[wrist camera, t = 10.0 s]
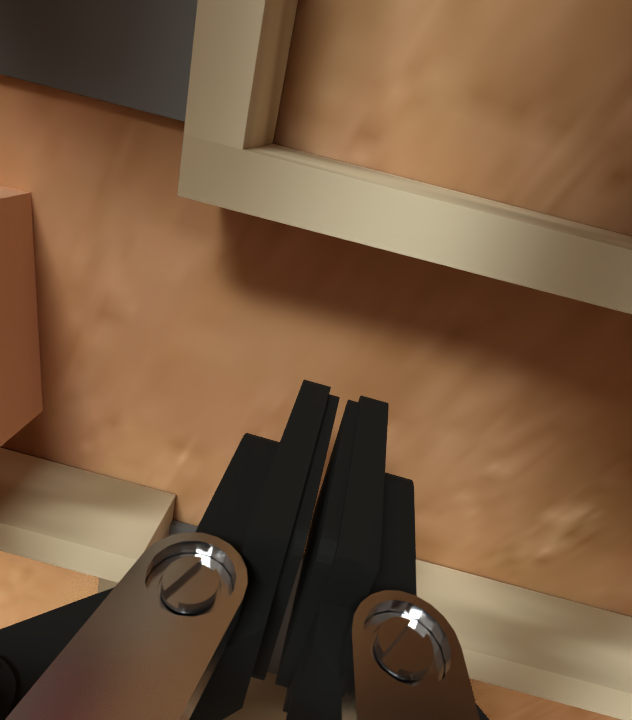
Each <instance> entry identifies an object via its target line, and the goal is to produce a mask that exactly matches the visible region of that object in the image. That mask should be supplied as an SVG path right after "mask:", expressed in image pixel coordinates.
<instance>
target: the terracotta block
mask: <svg viewBox="0 0 632 720" xmlns="http://www.w3.org/2000/svg"><path fill="white" fill-rule="evenodd" d="M42 411H43V404H42V386H41V368H40V349H39V331H38V313H37V295H36V277H35V258H34V240H33V222H32V204H31V192H26V191H22V190H17V189H13V188H8V187H4V186H0V447H1V446H2V445H3V444H4V443H5V442H7V441H8V440H9V439H10V438H11V437H12V436H14V435H15V434H16V433H17V432H18V431H20V430H21V429H22V428H23V427H24V426H25V425H27V424H28V423H29V422H30V421H31V420H33V419H34V418H35V417H36V416H37V415H39V414H40V413H41V412H42Z"/></svg>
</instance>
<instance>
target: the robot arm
mask: <svg viewBox="0 0 632 720" xmlns="http://www.w3.org/2000/svg"><path fill="white" fill-rule="evenodd" d="M330 388H331V387H329V386H325V385H322V384H318V383H314V382H311V381H307V380H304V381H303V383H302V386H301V388H300V391H299V394H298V396H297V399H296V402H295V404H294V407H293V409H292V412H291V415H290V417H289V420H288V423H287V425H286V428H285V430H284V433H283V436H282V438H281V441H280V442H277V441H273V440H270V439H266V438H263V437H259V436H256V435H252V434H249V433H246V434H245V435H244V436H243V438H242V440H241V442H240V444H239V446H238V448H237V450H236V452H235V454H234V456H233V458H232V460H231V462H230V464H229V466H228V468H227V470H226V472H225V474H224V476H223V478H222V480H221V482H220V484H219V486H218V488H217V490H216V492H215V494H214V496H213V498H212V500H211V502H210V504H209V506H208V508H207V510H206V512H205V514H204V516H203V518H202V520H201V522H200V524H199V526H198V528H197V530H196V532H184V533H179V534H175V535H170V536H168V537H166V538H164V539H162V540H159V541H157V542H155V543H154V544H153V545H152V546H151V547H150V548H148V549H147V550H146V551H145V552H144V553H143V554H142V555H141V556H140V557H139V559H138V560H137V561H136V562H135V563H134V565H133V566H132V567H131V568H130V569H129V571H128V572H127V573H126V574H125V575H124V577H123V578H122V579H121V580H120V582H119V583H118V584H117V585H116V586H115V587H113V588H111V589H108V590H105V591H103V592H100V593H97V594H95V595H92V596H89V597H86V598H84V599H81V600H78V601H76V602H73V603H70V604H68V605H65V606H62V607H59V608H57V609H54V610H51V611H49V612H46V613H43V614H41V615H38V616H35V617H32V618H30V619H27V620H24V621H22V622H19V623H16V624H13V625H11V626H8V627H5V628H3V629H0V720H223V719H225V718H227V717H228V716H230V715H232V714H233V713H235V712H237V711H238V710H240V709H242V708H243V704H244V701H245V697H246V693H247V690H248V686H249V683H250V679H251V677H253V678H256V679H260V680H263V681H264V680H265V677H266V674H267V670H268V667H269V664H270V661H271V657H272V654H273V651H274V647H275V644H276V641H277V638H278V634H279V631H280V628H281V625H282V621H283V618H284V615H285V611H286V608H287V605H288V602H289V598H290V595H291V592H292V589H293V585H294V582H295V579H296V575H297V572H298V569H299V566H300V562H301V559H302V555H303V552H304V548H305V544H306V541H307V544H306V549H305V553H304V558H303V562H302V566H301V571H300V575H299V580H298V584H297V588H296V593H295V597H294V601H293V606H292V610H291V615H290V619H289V623H288V628H287V632H286V637H285V641H284V645H283V650H282V654H281V659H280V663H279V667H278V672H277V676H276V681H275V684H276V685H279V686H283V687H286V688H287V692H286V696H285V701H284V706H283V712H287V716H286V720H489V719H488V718H487V716H486V715H485V714H484V713H483V712H482V710H481V709H480V708H479V707H478V706H477V704H476V703H475V699H474V695H473V691H472V687H471V683H470V679H469V675H468V671H467V667H466V663H465V659H464V655H463V651H462V648H461V645H460V643H459V640H458V638H457V635H456V633H455V631H454V630H453V628H452V627H451V625H450V624H449V622H448V621H447V620H446V618H445V617H444V616H443V615H442V614H441V613H440V612H439V611H438V610H437V609H435V608H434V607H433V606H432V605H431V604H429V603H428V602H426V601H424V600H423V599H421V598H419V597H417V590H416V550H415V510H414V485H413V481H412V480H410V479H406V478H403V477H399V476H396V475H392V474H389V473H385V460H386V442H387V424H388V403H386V402H382V401H379V400H375V399H371V398H368V397H364V396H360V398H359V401H358V402H355V401H351V400H348V401H347V404H346V408H345V411H344V414H343V418H342V421H341V424H340V427H339V431H338V434H337V437H336V441H335V444H334V447H333V451H332V454H331V457H330V460H329V464H328V467H327V470H326V474H325V477H324V480H323V484H322V487H321V490H320V493H319V497H318V500H317V503H316V507H315V502H316V498H317V494H318V489H319V485H320V481H321V476H322V472H323V468H324V463H325V459H326V455H327V450H328V446H329V441H330V437H331V433H332V428H333V424H334V420H335V415H336V411H337V407H338V402H339V398H340V397H337V396H333V395H330V394H329V392H330ZM314 507H315V511H314ZM313 511H314V514H313ZM312 516H313V518H312ZM311 520H312V523H311ZM310 524H311V527H310ZM309 529H310V531H309ZM308 533H309V536H308ZM307 537H308V540H307Z"/></svg>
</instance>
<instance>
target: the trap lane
mask: <svg viewBox="0 0 632 720" xmlns="http://www.w3.org/2000/svg"><path fill="white" fill-rule="evenodd" d="M297 4H298V0H0V74H2V75H6V76H10V77H14V78H18V79H22V80H25V81H29V82H33V83H37V84H41V85H45V86H49V87H53V88H56V89H60V90H64V91H68V92H72V93H76V94H80V95H83V96H87V97H91V98H95V99H99V100H103V101H107V102H111V103H114V104H118V105H122V106H126V107H130V108H134V109H138V110H141V111H145V112H149V113H153V114H157V115H161V116H165V117H168V118H172V119H176V120H180V121H184V122H185V126H184V136H183V145H182V155H181V165H180V174H179V184H178V193H177V196H180V197H184V198H188V199H191V200H195V201H199V202H203V203H207V204H211V205H214V206H218V207H222V208H226V209H230V210H234V211H237V212H241V213H245V214H249V215H253V216H257V217H260V218H264V219H268V220H272V221H276V222H280V223H283V224H287V225H291V226H295V227H299V228H303V229H306V230H310V231H314V232H318V233H322V234H326V235H329V236H333V237H337V238H341V239H345V240H349V241H352V242H356V243H360V244H364V245H368V246H372V247H375V248H379V249H383V250H387V251H391V252H395V253H398V254H402V255H406V256H410V257H414V258H418V259H421V260H425V261H429V262H433V263H437V264H441V265H444V266H448V267H452V268H456V269H460V270H464V271H467V272H471V273H475V274H479V275H483V276H487V277H491V278H494V279H498V280H502V281H506V282H510V283H514V284H517V285H521V286H525V287H529V288H533V289H537V290H540V291H544V292H548V293H552V294H556V295H560V296H563V297H567V298H571V299H575V300H579V301H583V302H586V303H590V304H594V305H598V306H602V307H606V308H609V309H613V310H617V311H621V312H625V313H629V314H632V236H628V235H624V234H620V233H617V232H613V231H609V230H605V229H601V228H597V227H593V226H589V225H586V224H582V223H578V222H574V221H570V220H566V219H562V218H559V217H555V216H551V215H547V214H543V213H539V212H535V211H531V210H528V209H524V208H520V207H516V206H512V205H508V204H504V203H501V202H497V201H493V200H489V199H485V198H481V197H477V196H473V195H470V194H466V193H462V192H458V191H454V190H450V189H446V188H443V187H439V186H435V185H431V184H427V183H423V182H419V181H415V180H412V179H408V178H404V177H400V176H396V175H392V174H388V173H385V172H381V171H377V170H373V169H369V168H365V167H361V166H357V165H354V164H350V163H346V162H342V161H338V160H334V159H330V158H327V157H323V156H319V155H315V154H311V153H307V152H303V151H299V150H296V149H292V148H288V147H284V146H280V145H276V144H273V139H274V133H275V128H276V122H277V117H278V111H279V105H280V100H281V94H282V88H283V83H284V77H285V71H286V66H287V60H288V55H289V49H290V43H291V38H292V32H293V26H294V21H295V15H296V9H297ZM175 498H176V495H175V494H171V493H168V492H164V491H160V490H156V489H153V488H149V487H145V486H141V485H138V484H134V483H130V482H127V481H123V480H119V479H115V478H112V477H108V476H104V475H101V474H97V473H93V472H89V471H86V470H82V469H78V468H75V467H71V466H67V465H63V464H60V463H56V462H52V461H48V460H45V459H41V458H37V457H34V456H30V455H26V454H22V453H19V452H15V451H11V450H8V449H4V448H0V551H3V552H7V553H11V554H14V555H18V556H22V557H25V558H29V559H33V560H36V561H40V562H44V563H47V564H51V565H55V566H59V567H62V568H66V569H70V570H73V571H77V572H81V573H84V574H88V575H92V576H95V577H99V586H98V593H100V592H103V591H105V590H108V589H111V588H113V587H115V586H116V585H117V584H118V583H119V582H120V580H121V579H122V578H123V577H124V575H125V574H126V573H127V572H128V571H129V569H130V568H131V567H132V566H133V565H134V563H135V562H136V561H137V560H138V559H139V557H140V556H141V555H142V554H143V553H144V552H145V551H146V550H147V549H148V548H150V547H151V546H152V545H153V544H154V543H155V542H157V541H159V540H162V539H164V538H166V537H168V536H170V535H175V534H179V533H184V532H196V530H197V528H198V527H197V526H194V525H190V524H186V523H182V522H179V521H175V520H173V513H174V506H175ZM303 558H304V555H302V559H301V562H300V566H299V569H298V572H297V575H296V579H295V582H294V585H293V589H292V592H291V595H290V598H289V602H288V605H287V608H286V611H285V615H284V618H283V621H282V625H281V628H280V631H279V634H278V638H277V641H276V644H275V647H274V651H273V654H272V657H271V661H270V664H269V667H268V670H267V674H266V677H265V680H264V681H263V680H260V679H256V678H253V677H251V679H250V683H249V686H248V690H247V693H246V697H245V701H244V704H243V708H242V709H240V710H238V711H237V712H235V713H233V714H232V715H230V716H228V717H227V718H225V719H223V720H286V716H287V712H283V706H284V701H285V696H286V692H287V688H286V687H283V686H279V685H276V684H275V681H276V676H277V672H278V667H279V663H280V659H281V654H282V650H283V645H284V641H285V637H286V632H287V628H288V623H289V619H290V615H291V610H292V606H293V601H294V597H295V593H296V588H297V584H298V580H299V575H300V571H301V566H302V562H303ZM416 590H417V597H419V598H421V599H423V600H424V601H426V602H428V603H429V604H431V605H432V606H433V607H434V608H435V609H437V610H438V611H439V612H440V613H441V614H442V615H443V616H444V617H445V618H446V620H447V621H448V622H449V624H450V625H451V627H452V628H453V630H454V631H455V633H456V635H457V638H458V640H459V643H460V645H461V648H462V651H463V655H464V659H465V663H466V667H467V671H468V675H469V678H471V679H475V680H478V681H482V682H486V683H489V684H493V685H497V686H500V687H504V688H508V689H511V690H515V691H519V692H522V693H526V694H530V695H533V696H537V697H541V698H544V699H548V700H552V701H556V702H559V703H563V704H567V705H570V706H574V707H578V708H581V709H585V710H589V711H592V712H596V713H600V714H603V715H607V716H611V717H614V718H618V719H622V720H632V617H629V616H625V615H621V614H618V613H614V612H610V611H606V610H603V609H599V608H595V607H592V606H588V605H584V604H580V603H577V602H573V601H569V600H566V599H562V598H558V597H554V596H551V595H547V594H543V593H539V592H536V591H532V590H528V589H525V588H521V587H517V586H513V585H510V584H506V583H502V582H499V581H495V580H491V579H487V578H484V577H480V576H476V575H473V574H469V573H465V572H461V571H458V570H454V569H450V568H447V567H443V566H439V565H435V564H432V563H428V562H424V561H420V560H417V559H416Z"/></svg>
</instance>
